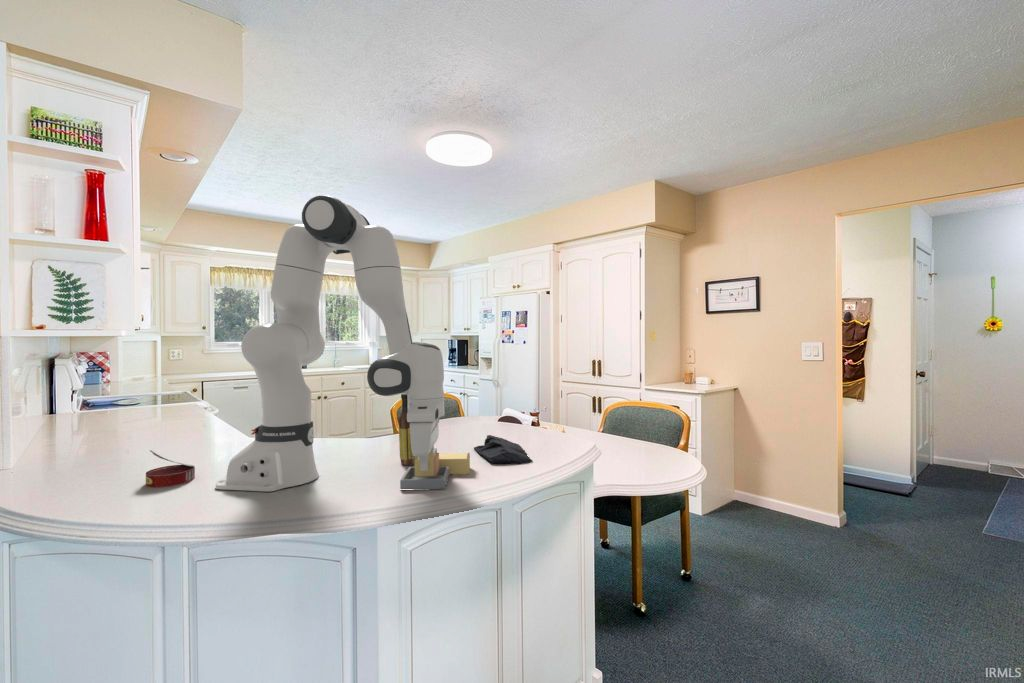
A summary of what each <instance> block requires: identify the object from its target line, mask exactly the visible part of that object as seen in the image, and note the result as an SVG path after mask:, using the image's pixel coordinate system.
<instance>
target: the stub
mask: <svg viewBox="0 0 1024 683" xmlns="http://www.w3.org/2000/svg"><path fill="white" fill-rule="evenodd" d="M439 454H440V453H439V452H437V453H429V456H428V462H429V468H428V470H427V471H421V470H420V460H419V456H417V457H416V458H415V465H414V467H415V477H419V476H437V473H438V471H439Z"/></svg>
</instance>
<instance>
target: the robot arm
mask: <svg viewBox="0 0 1024 683" xmlns="http://www.w3.org/2000/svg"><path fill="white" fill-rule="evenodd" d="M301 221H302V223H301V224H294V225H290V226H289V227H288V228H287V229H286V230H285V232H284V234H283V236H282V239H281V240H280V241H281V242H280V245H279V248H278V251H277V254H276V255H277V256H276V260H275V266H274V271H273V276H272V277H273V278H272V282H271V289H270V298H271V300H272V302H273V304H274V306H275V310H276V311H275V312H276V318H277V319H276V321H277V322H268V323H263V324H260V325H256V326H254V327H252V328H250V329H249V330H248V331H246V333H245V334H244V336H243V338H242V340H241V346H240V348H241V353H242V356H243V358H244V359H245V360H246V361H247V363H248V364H250V365H251V367H252V368H253V370H254V373H255V376H256V379H257V383H258V385H259V390H260V396H261V418H262V419H261V422H262V424H260V425H258V426H257V427H255V428H254V429H251V430H250V431H251V435H254V436H255V437H254V440H253V441H252V442H251V443H249V444H248V445H247V446H246V447H244V448H243V449H241V450H240V451H239V452H238V453H236V454H235V455H234V456H233V457H232V458H231V459H230V460H229V463H228V466H227V472H226V475H225V476H223V477H222V478H220V479H218V480H217V482H216V483H215V490H229V491H247V492H248V491H250V492H268V493H270V492H277V491H280V490H282V489H286V488H290V487H291V488H292V487H296V486H300V485H304V484H307V483H310V482H312V481H315V480H316V479H317V478H319V476H320V474H319V471H318V469H317V464H316V461H315V455H314V454H315V453H314V447H313V443H314V438H315V437H314V436H315V432H314V431H315V430H314V421H312V392H311V389H310V387H309V386H308V384H307V383H306V381H305V378H304V375H303V371H302V367H304V366H308V365H310V364H312V363H314V362H315V361H317V360H319V359H320V358H321V357H322V356H323V353H324V352H325V346H326V345H325V339H324V337H323V335H322V332H321V324H320V298H321V292H322V291H321V290H322V284H323V279H324V272H325V267H326V266H325V265H326V261H327V258H328V256H329V255H330V254H331V253H333V254H335V255H342V254H347V253H348V254H349V253H350V254H351V257H352V261H353V271H354V280H355V284H356V289H357V292H358V295H359V297H360V299H361V301H362V302H363V303H364V304H365V305H366V306H367V307H369V308H370V309H371V310H372V311H373V312H374V313H375V314H376V315H377V316H378V317H379V319H380V321H381V322H382V325H383V328H384V330H385V331H384V332H385V335H386V336H385V338H386V342H387V346H388V351H389V352H388V353H389V355H386V356H383V357H380V358H379V359H377V360H374V361H373V362H372V363H371V365H370V366H369V368H368V370H367V374H366V375H367V376H366V379H367V384H368V386H369V388H370V390H371V391H373V393H375V394H377V395H378V396H381V397H382V396H383V397H393V396H397V395H401V394H402V393H406V394H407V401H408V412H407V422H410V439H411V449H412V453H413V456H419V460H420V470H421V471H427V470H428V468H429V462H428V456H429V453H433V450H434V448H435V444H436V442H437V440H438V439H439V434H440V433H439V423H440V418H442V417H444V416H445V393H444V388H443V383H444V379H445V373H444V372H445V370H444V369H445V368H444V367H445V366H444V359H443V352H442V350H441V349H440V347H438V346H437V345H435V344H431V343H426V342H420V341H419V342H418V341H417V342H413V340H412V339H413V338H412V334H411V333H412V332H411V328H410V323H409V318H408V312H407V309H406V301H405V296H404V286H403V277H402V269H401V262H400V256H399V253H398V248H397V245H396V241H395V239H394V236H393V234H392V232H391V231H390V230H389V229H387V228H386V227H383V226H380V225H371V224H370V222H369V221H368V220H367V218H366V217H365V216H364V215H363V214H361V213H360V212H359V211H358V210H357V209H355V208H354V207H353V206H351V205H349V204H346V203H345V202H343V201H341V200H340V199H339V198H337V197H334V196H331V195H324V194H323V195H322V194H321V195H316V196H313V197H311V198H310V199H308V201H307V202H306V203H305V205H303V208H302V212H301Z"/></svg>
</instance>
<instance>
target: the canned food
mask: <svg viewBox="0 0 1024 683" xmlns="http://www.w3.org/2000/svg"><path fill="white" fill-rule="evenodd" d="M149 452H151V453H152V455H154V456H155V457H157V458H159V459H162V460H165V461H168V462H170V463H171V462H172V463H175V464H174V465H167V466H161V467H156V468H153V469H150V470H148V471H146V472H145V486H146V487H147V488H153V489H154V488H169V487H175V486H179V485H182V484H187V483H189V482H191V481H194V479H195V476H196V474H195V472H196V471H195V470H196V467H195V465H194V464H193V465H192V464H187V463H181V462H177V461H174V460H171V459H167V458H166V457H163V456H161V455H159V454H158V453H156V452H154V451H153V450H149Z"/></svg>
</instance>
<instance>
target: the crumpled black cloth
mask: <svg viewBox="0 0 1024 683" xmlns="http://www.w3.org/2000/svg"><path fill="white" fill-rule="evenodd" d="M473 449H474V451H476V453H478V455H480V456H481V455H482V456H481V457H483V458H484V459H485V460H487V461H488V462H490V463H493V464H528V463H527V462H530V463H533V462H534V461H533V460H532V459H531V458H530V456H529V455H528V453H527V452H526V450H525V449H524V448H523V447H522V446H521V445H520V444H519V443H515V442H513V441H510V440H508V439H506V438H503V437H499V436H495V435H492V434H489V435H486V438H485V440H484V444H482V445H477V446H475V447H473ZM527 455H528V456H529V457H528V456H527ZM504 462H505V463H504Z"/></svg>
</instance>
